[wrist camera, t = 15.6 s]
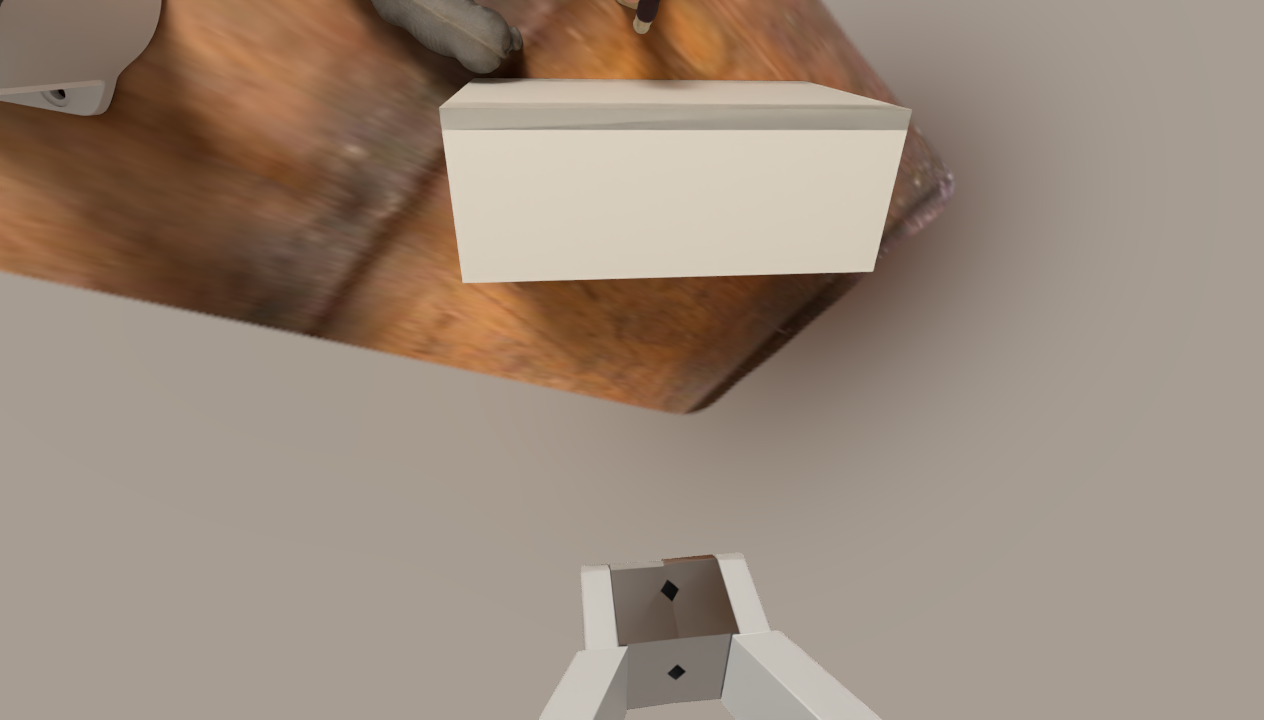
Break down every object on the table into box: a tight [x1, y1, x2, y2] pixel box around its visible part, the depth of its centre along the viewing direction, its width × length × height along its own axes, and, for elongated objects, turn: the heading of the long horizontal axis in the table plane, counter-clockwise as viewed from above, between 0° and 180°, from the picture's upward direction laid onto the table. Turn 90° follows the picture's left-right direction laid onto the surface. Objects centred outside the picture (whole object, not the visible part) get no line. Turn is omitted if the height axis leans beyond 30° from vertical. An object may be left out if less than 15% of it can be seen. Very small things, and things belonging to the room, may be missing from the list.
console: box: [439, 78, 912, 283], centre depth 38 cm, size 24×10×15 cm, turn 89°
